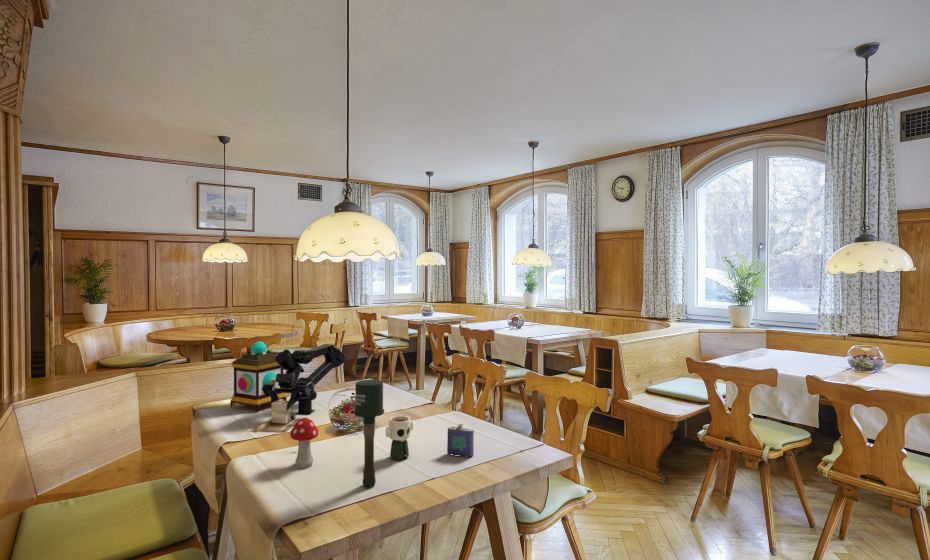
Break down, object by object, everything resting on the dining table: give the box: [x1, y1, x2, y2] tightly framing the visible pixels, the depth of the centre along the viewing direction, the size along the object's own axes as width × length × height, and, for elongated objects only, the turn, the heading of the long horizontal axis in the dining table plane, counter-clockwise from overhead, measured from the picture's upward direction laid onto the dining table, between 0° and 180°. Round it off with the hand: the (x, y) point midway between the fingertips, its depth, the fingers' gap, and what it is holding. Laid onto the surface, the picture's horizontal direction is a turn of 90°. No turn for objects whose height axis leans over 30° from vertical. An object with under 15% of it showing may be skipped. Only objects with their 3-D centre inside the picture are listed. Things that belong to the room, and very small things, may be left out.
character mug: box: [385, 415, 414, 460], centre depth 160 cm, size 11×7×13 cm, turn 133°
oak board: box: [248, 413, 302, 434], centre depth 191 cm, size 18×14×3 cm
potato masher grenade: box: [353, 379, 385, 489], centre depth 138 cm, size 8×9×30 cm
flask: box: [446, 423, 475, 457], centre depth 162 cm, size 9×3×11 cm, turn 74°
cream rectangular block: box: [271, 400, 292, 423], centre depth 193 cm, size 4×7×8 cm, turn 85°
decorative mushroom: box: [289, 417, 319, 469], centre depth 153 cm, size 10×9×15 cm
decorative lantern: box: [230, 341, 288, 413], centre depth 222 cm, size 20×20×30 cm
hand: (279, 409), depth 192 cm, fingers closed on cream rectangular block, 6 cm apart
